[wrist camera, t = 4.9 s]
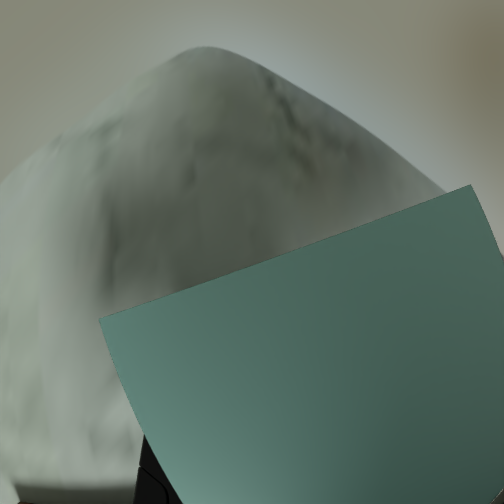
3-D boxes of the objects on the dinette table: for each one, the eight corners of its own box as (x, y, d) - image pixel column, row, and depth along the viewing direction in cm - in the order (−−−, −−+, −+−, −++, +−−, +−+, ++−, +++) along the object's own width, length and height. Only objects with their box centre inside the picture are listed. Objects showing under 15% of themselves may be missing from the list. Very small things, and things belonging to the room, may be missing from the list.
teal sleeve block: (261, 303, 16) (470, 184, 3) (294, 384, 15) (533, 447, 3) (176, 335, 14) (98, 319, 2) (211, 418, 14) (293, 631, 1)
